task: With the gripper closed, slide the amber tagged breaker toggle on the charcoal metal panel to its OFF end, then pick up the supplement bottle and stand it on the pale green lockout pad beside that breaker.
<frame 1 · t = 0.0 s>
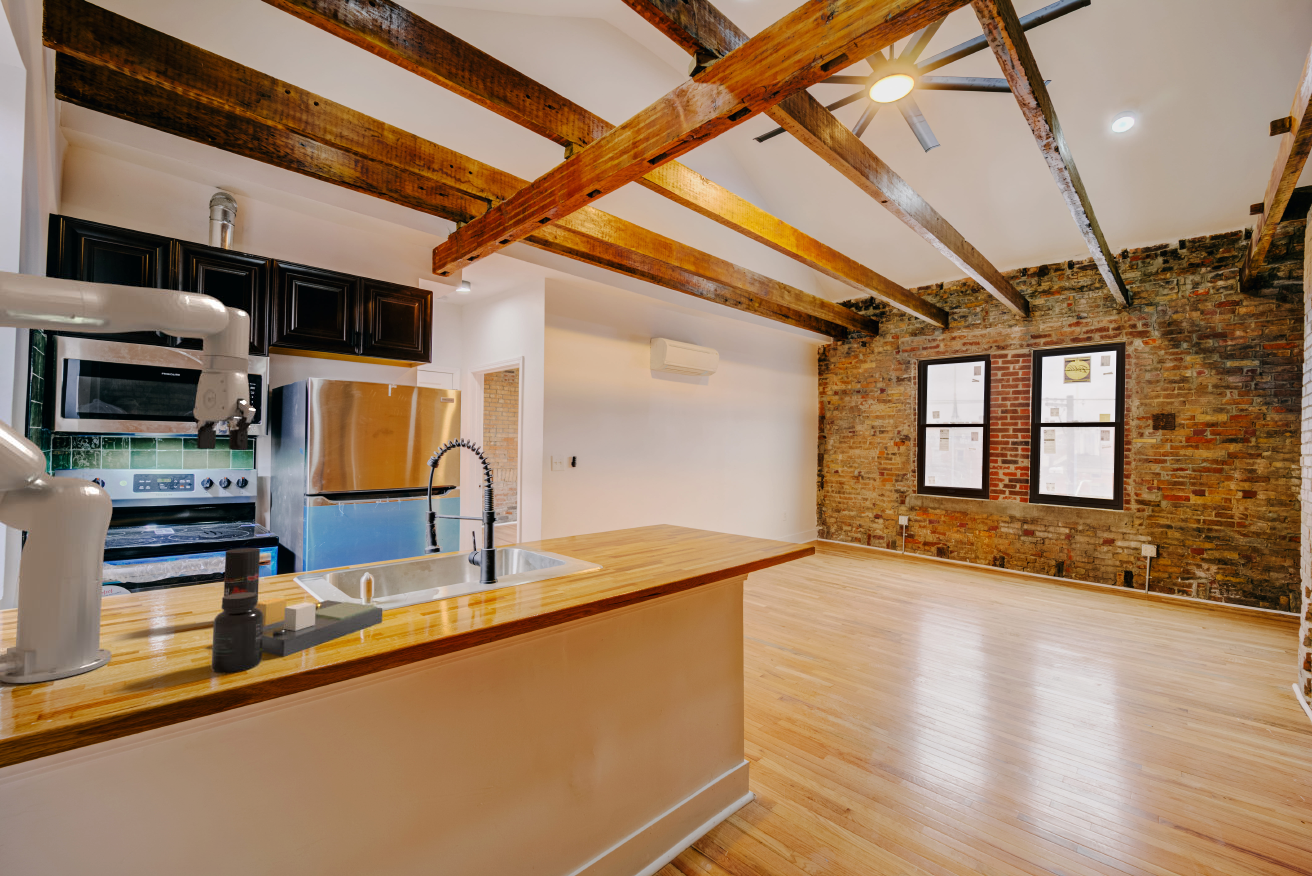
hand: (221, 449, 115), 37 cm above the table, tool pointing down, fingers open, 9 cm apart
panel: (308, 632, 113), on the table
supplement bottle: (237, 667, 95), on the table
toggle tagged: (270, 611, 109), point 5 cm above the table, slide at 0.0 cm
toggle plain: (300, 616, 107), point 5 cm above the table, slide at 0.0 cm
deodorant: (240, 621, 119), on the table
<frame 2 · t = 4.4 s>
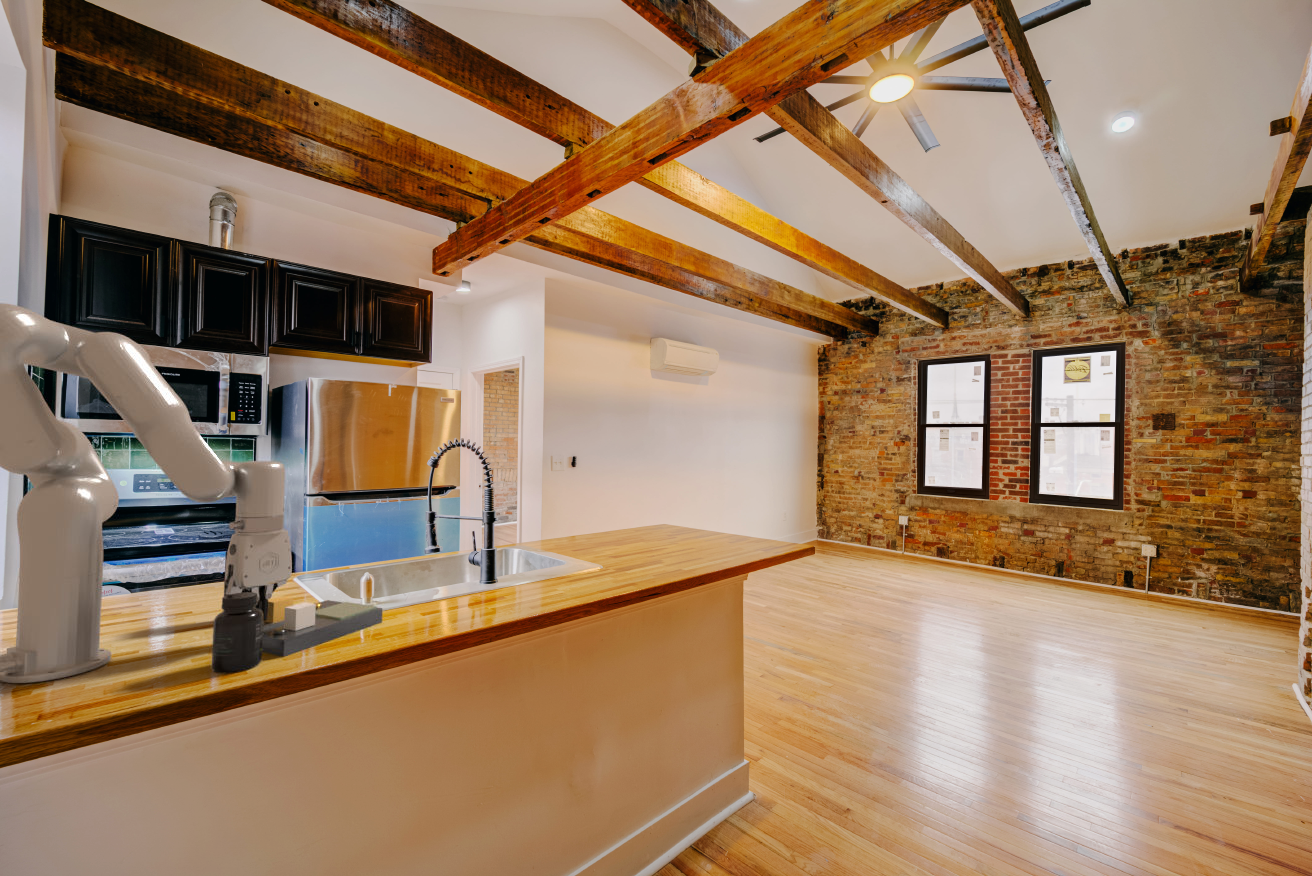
hand: (256, 620, 107), 4 cm above the table, tool pointing down, fingers closed
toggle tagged: (278, 609, 111), point 5 cm above the table, slide at 1.5 cm, touching gripper
everything else where it was.
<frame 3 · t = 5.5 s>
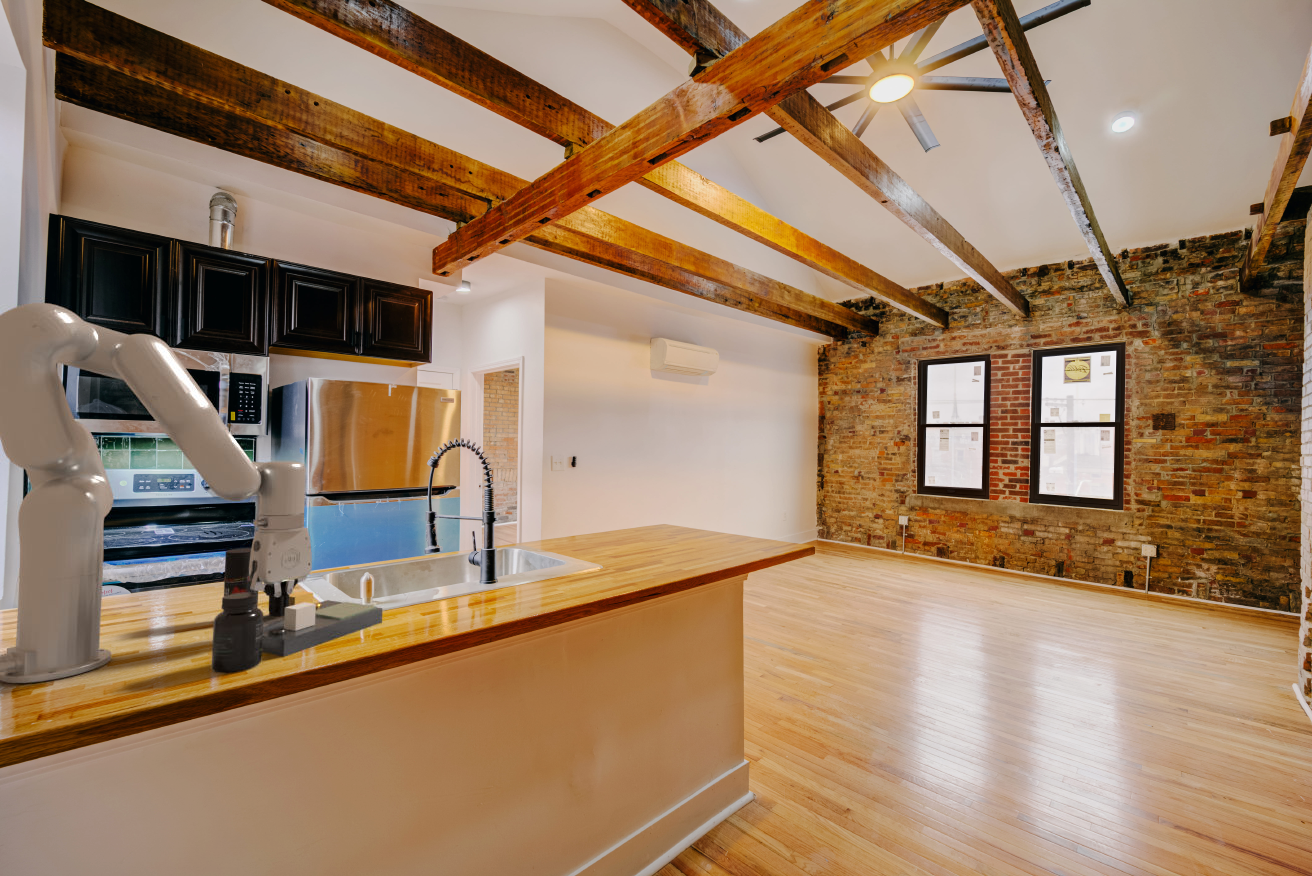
hand: (278, 614, 111), 4 cm above the table, tool pointing down, fingers closed
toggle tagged: (298, 604, 115), point 5 cm above the table, slide at 5.8 cm, touching gripper
everything else where it was.
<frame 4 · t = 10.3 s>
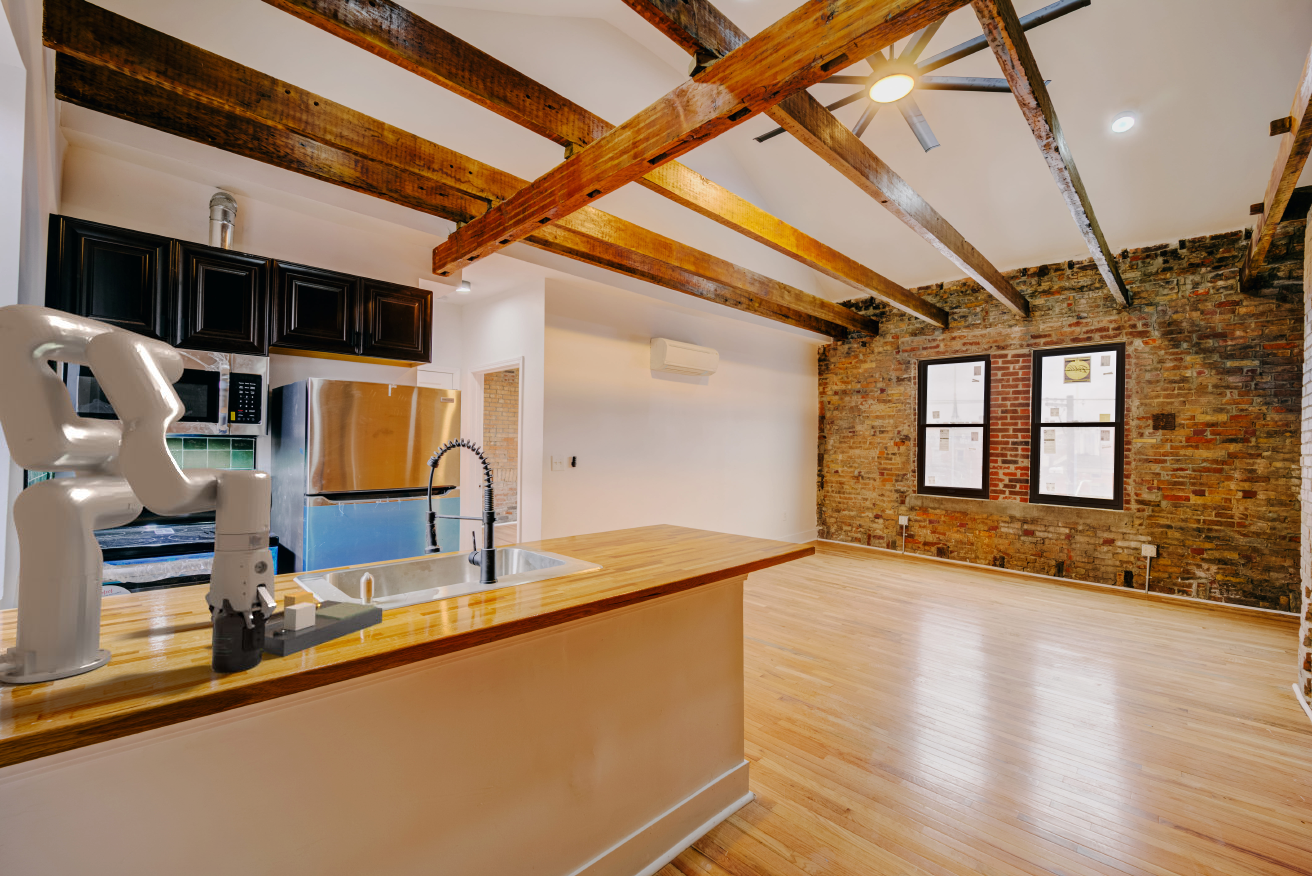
hand: (238, 646, 95), 3 cm above the table, tool pointing down, fingers closed on supplement bottle, 6 cm apart
supplement bottle: (237, 667, 95), on the table, touching gripper
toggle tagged: (298, 604, 115), point 5 cm above the table, slide at 5.8 cm
everything else where it was.
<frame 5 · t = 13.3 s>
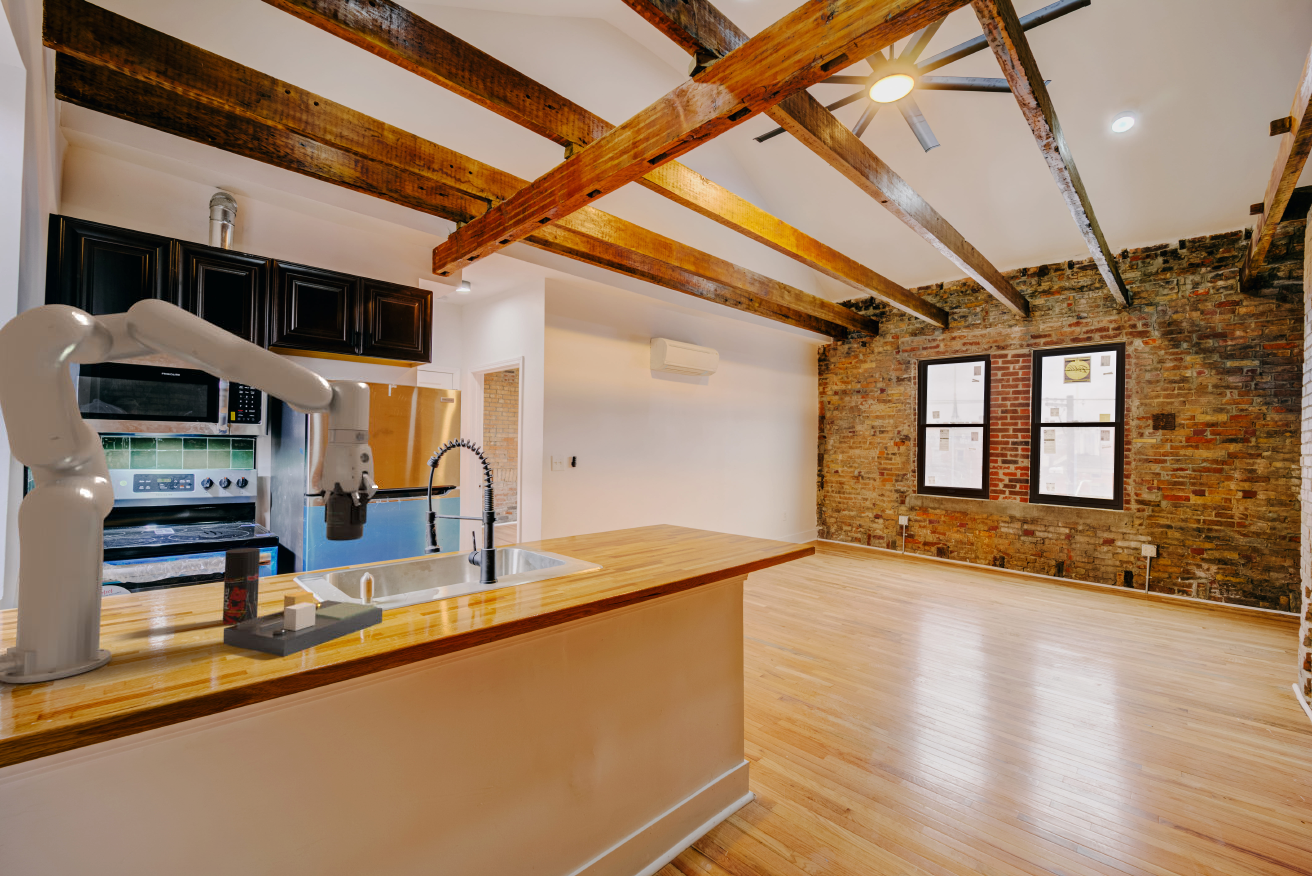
hand: (345, 522, 118), 22 cm above the table, tool pointing down, fingers closed on supplement bottle, 6 cm apart
supplement bottle: (344, 539, 117), point 18 cm above the table, touching gripper
everything else where it was.
when the fingers open (8 cm above the table, at t = 16.5 s): supplement bottle drops 1 cm, resting on panel.
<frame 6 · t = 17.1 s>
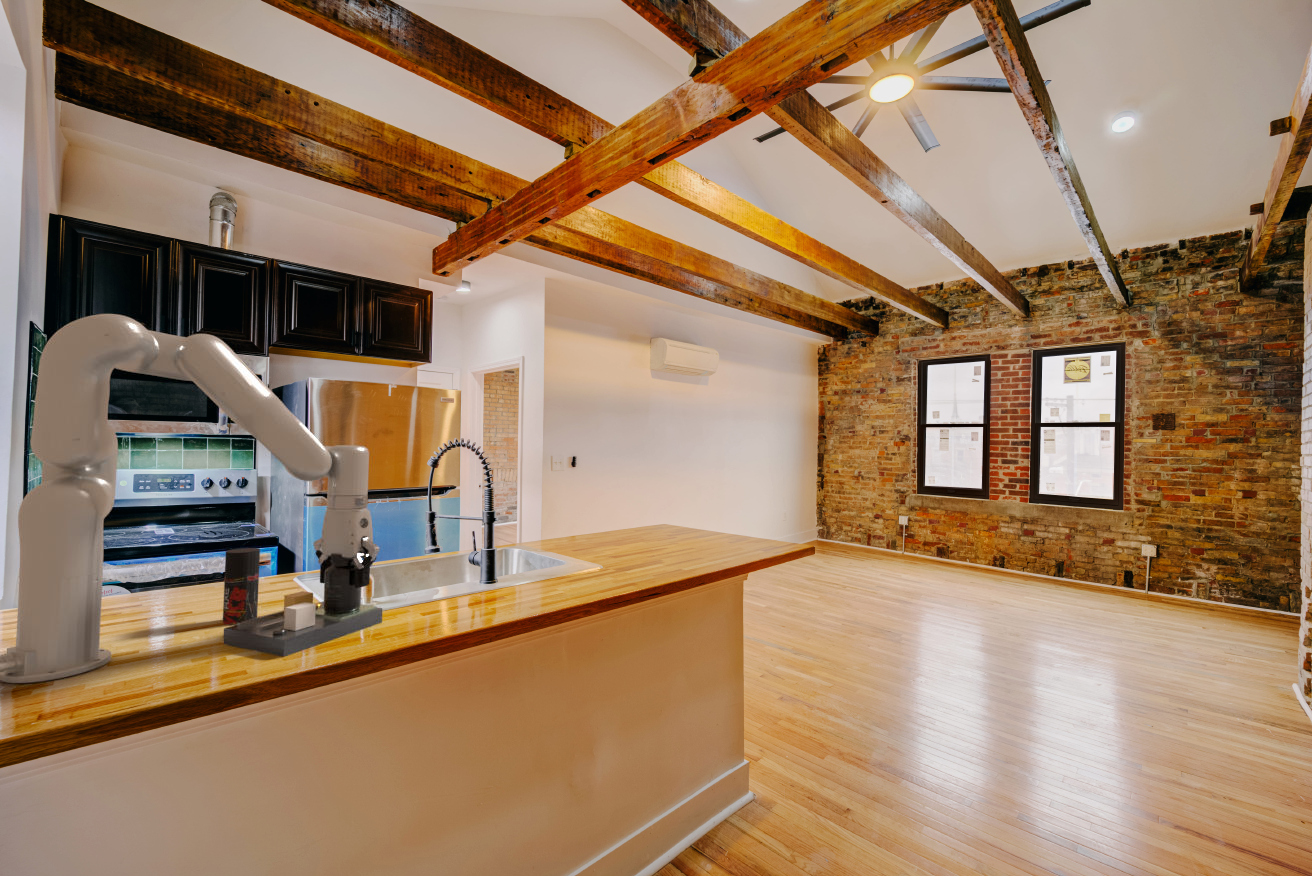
hand: (344, 584, 118), 9 cm above the table, tool pointing down, fingers open, 9 cm apart
supplement bottle: (342, 610, 117), point 3 cm above the table, touching panel
everything else where it was.
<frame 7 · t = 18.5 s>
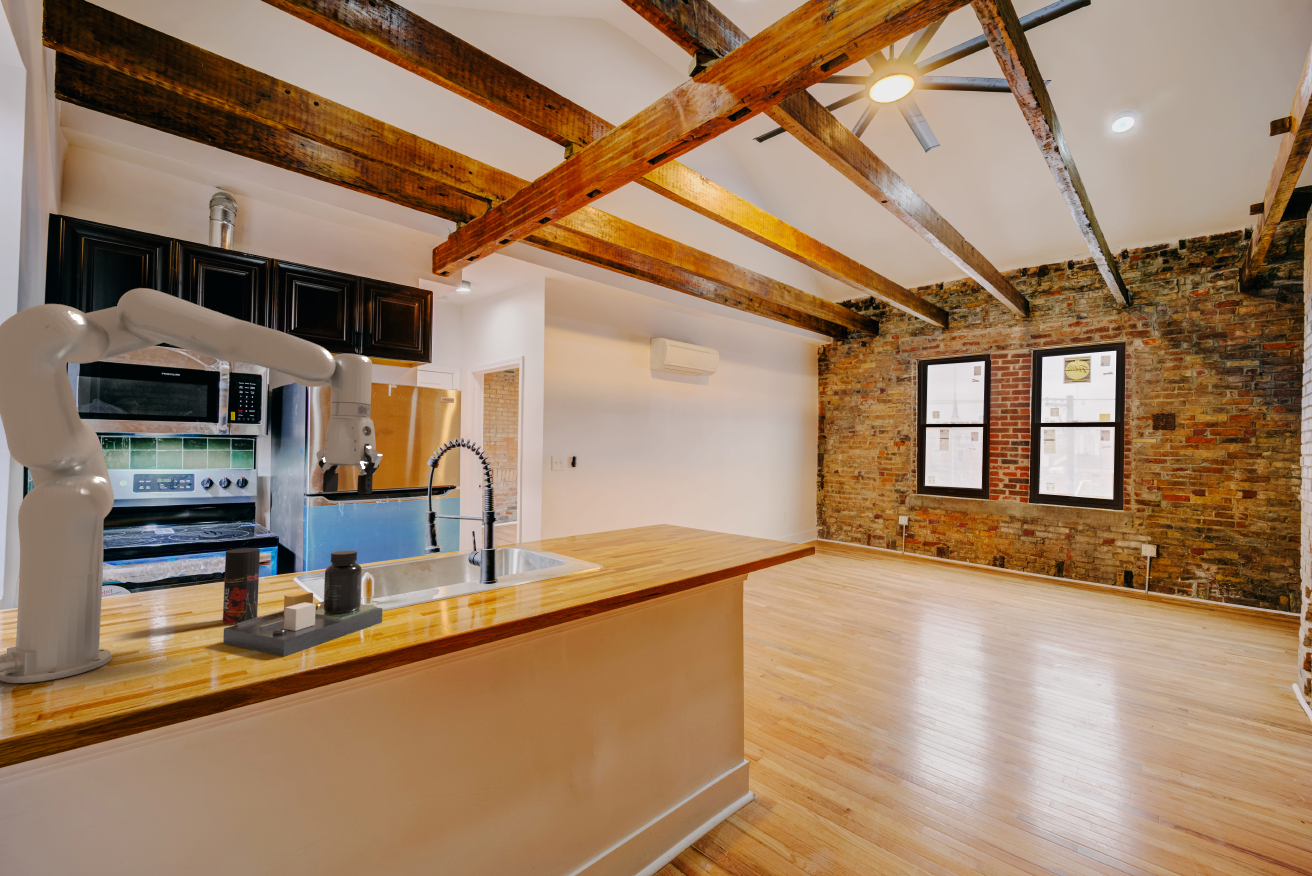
hand: (347, 492, 118), 28 cm above the table, tool pointing down, fingers open, 9 cm apart
nothing on the table moved.
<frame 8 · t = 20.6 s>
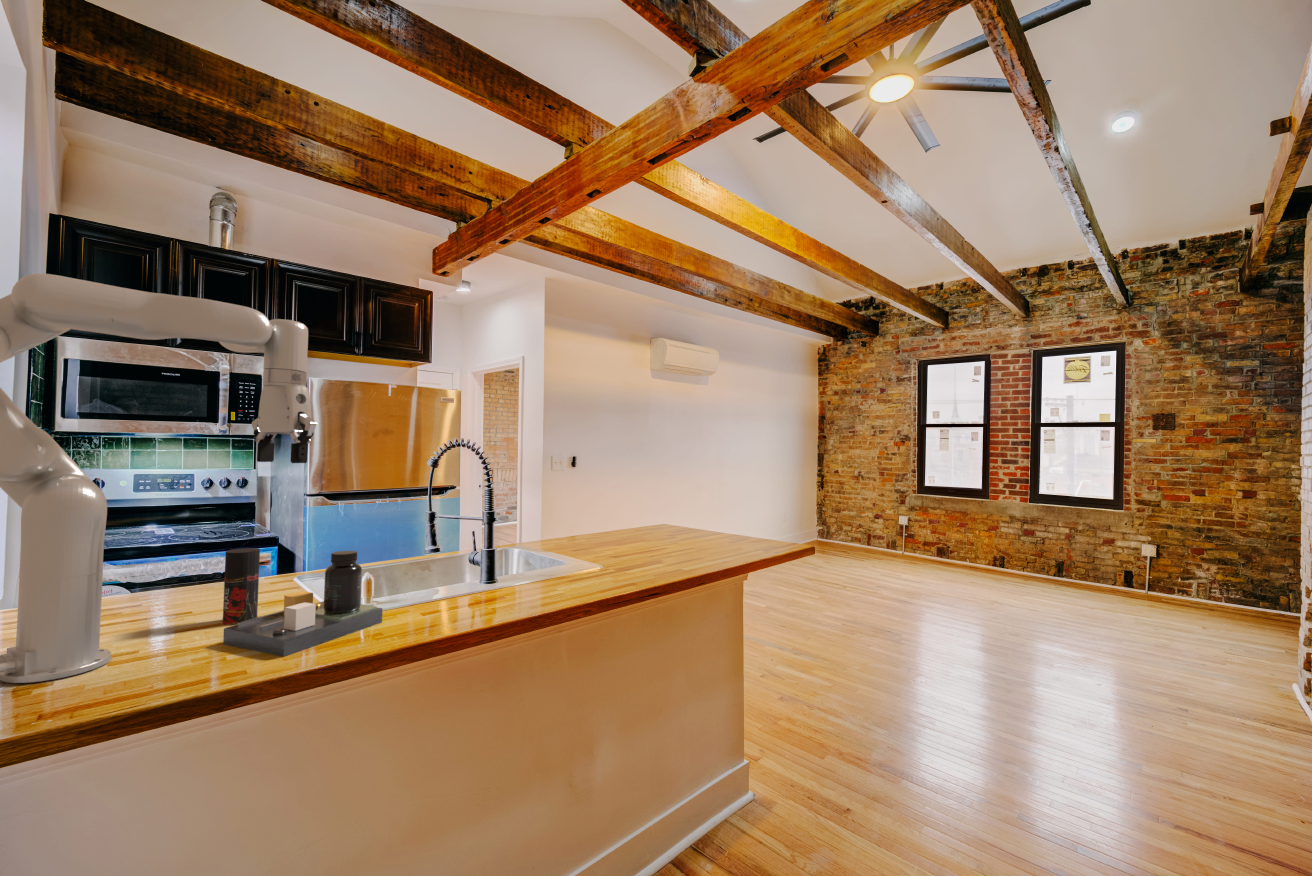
hand: (281, 462, 115), 34 cm above the table, tool pointing down, fingers open, 9 cm apart
nothing on the table moved.
at the end: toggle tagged slide at 5.8 cm; supplement bottle inside the target area on the panel (0.2 cm from its centre), point 3.2 cm above the panel's base; supplement bottle tilted 0° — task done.
